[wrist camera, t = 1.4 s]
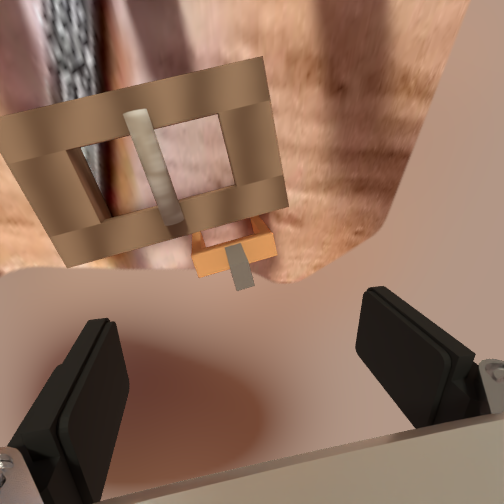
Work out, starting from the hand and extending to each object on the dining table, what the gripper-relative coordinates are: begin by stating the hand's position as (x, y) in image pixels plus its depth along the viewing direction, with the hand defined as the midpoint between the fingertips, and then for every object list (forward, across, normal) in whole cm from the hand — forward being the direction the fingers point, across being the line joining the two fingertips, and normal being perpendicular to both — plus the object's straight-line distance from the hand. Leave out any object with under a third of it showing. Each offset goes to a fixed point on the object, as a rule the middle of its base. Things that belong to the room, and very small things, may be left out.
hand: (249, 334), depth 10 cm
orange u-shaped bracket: (+32, -3, +6) cm, 33 cm away
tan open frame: (+32, +5, -5) cm, 33 cm away
